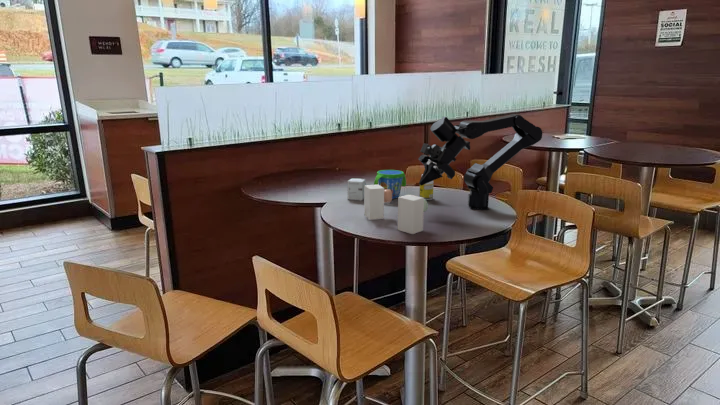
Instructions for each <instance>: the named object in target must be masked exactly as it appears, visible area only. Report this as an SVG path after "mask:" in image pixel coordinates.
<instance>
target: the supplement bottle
mask: <svg viewBox="0 0 720 405" xmlns="http://www.w3.org/2000/svg"><path fill="white" fill-rule="evenodd" d="M422 175H423V173H422V174H421V176H422ZM418 197H423V198H424V199H425V200H426V201H431V200H433V199H434V180H433V181H431V182H429V183H426V184H424V185H422V186H421V185H420V184H419V196H418Z"/></svg>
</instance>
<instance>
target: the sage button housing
mask: <svg viewBox="0 0 720 405" xmlns="http://www.w3.org/2000/svg"><path fill="white" fill-rule="evenodd" d="M424 213H425V212H424V198H423V197H419V196H418V195H413V194H405V195H402V196H399V197H398V198H397V230H398V231H400V232H404V233H407V234H410V235H414V234H416V233H417V234H418V233H420V232H423V231H424Z"/></svg>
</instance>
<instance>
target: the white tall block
mask: <svg viewBox="0 0 720 405" xmlns="http://www.w3.org/2000/svg"><path fill="white" fill-rule="evenodd" d="M363 200H364V201H363V202H364V203H363V206H364V207H363V208H364V212H363V215H364V216H365V217H366V218H367V220H369V221H372V220H374V221H375V220H382V219H384V218H385V203H384V188H383V187H382V186H380V185H379V183H378V184H377V185H374V184H366V185H364V199H363Z"/></svg>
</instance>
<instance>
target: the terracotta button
mask: <svg viewBox="0 0 720 405" xmlns="http://www.w3.org/2000/svg"><path fill="white" fill-rule="evenodd" d="M392 200H393V199H392V192H391V190H390V189H386V190H384V204H385V203H391V202H392Z"/></svg>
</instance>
